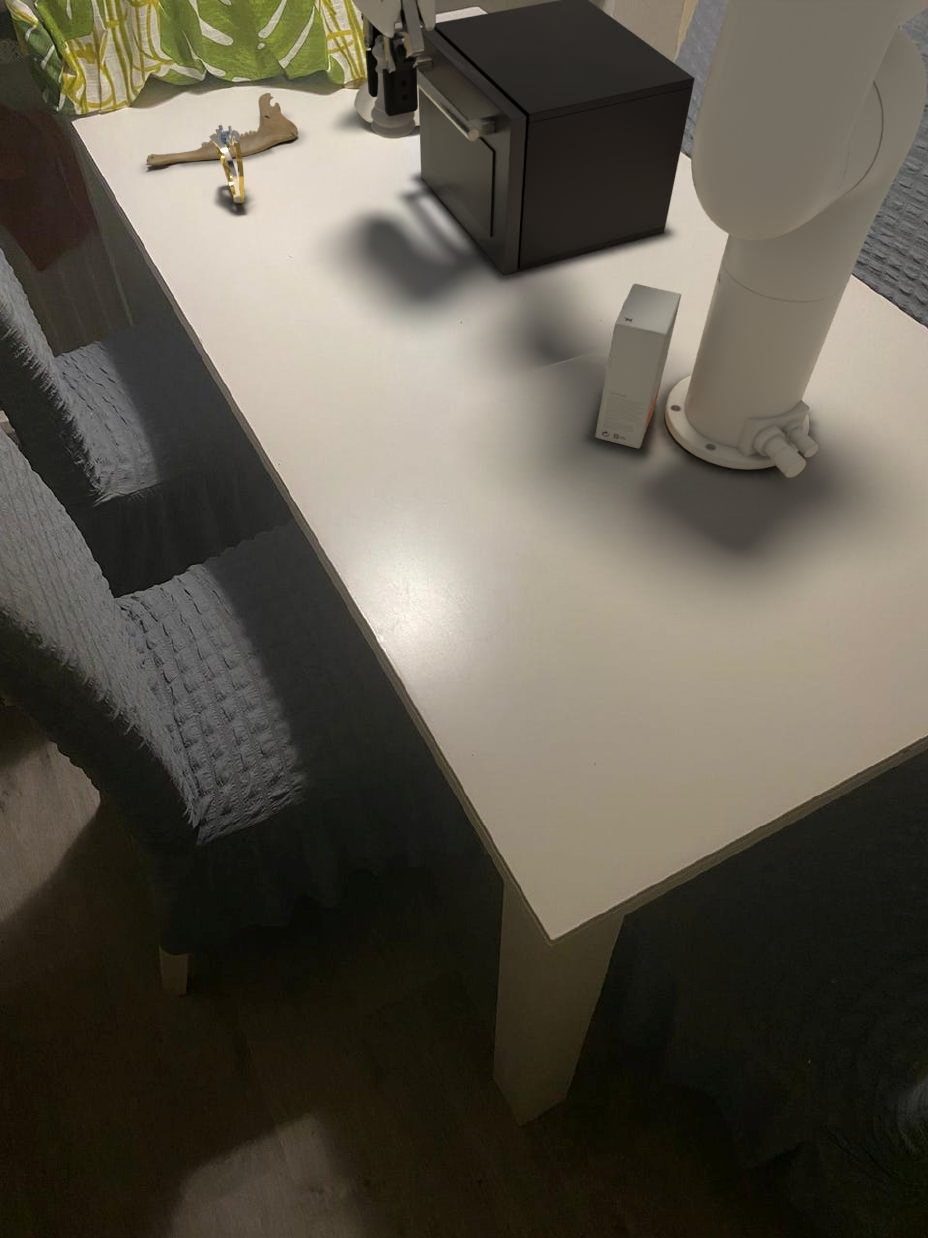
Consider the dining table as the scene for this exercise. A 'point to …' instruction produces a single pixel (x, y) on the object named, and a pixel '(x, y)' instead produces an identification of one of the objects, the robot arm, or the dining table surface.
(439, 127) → the oven door
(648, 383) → the cosmetic box
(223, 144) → the ring
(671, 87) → the oven
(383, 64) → the rook chess piece
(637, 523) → the dining table surface
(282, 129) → the jawbone
